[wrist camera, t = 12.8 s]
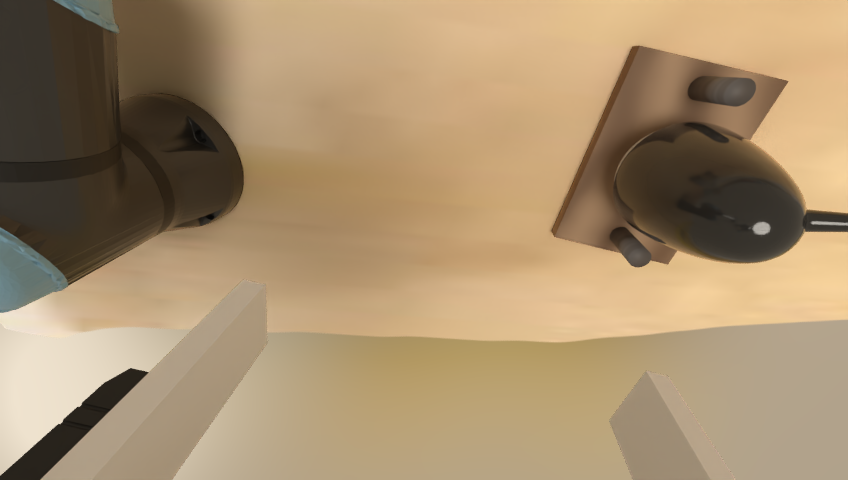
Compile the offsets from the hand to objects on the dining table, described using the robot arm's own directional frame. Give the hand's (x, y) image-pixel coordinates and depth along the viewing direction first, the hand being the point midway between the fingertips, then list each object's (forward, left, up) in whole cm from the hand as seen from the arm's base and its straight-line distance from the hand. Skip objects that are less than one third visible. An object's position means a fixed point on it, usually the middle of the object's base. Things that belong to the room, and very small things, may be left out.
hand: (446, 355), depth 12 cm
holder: (+19, +4, -28) cm, 34 cm away
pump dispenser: (+19, +4, -27) cm, 33 cm away
